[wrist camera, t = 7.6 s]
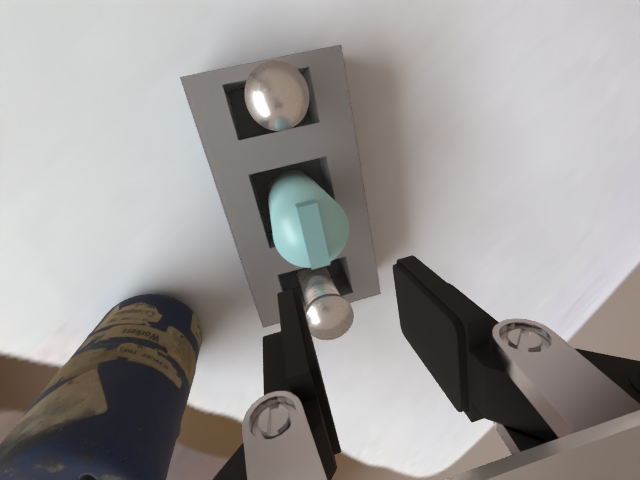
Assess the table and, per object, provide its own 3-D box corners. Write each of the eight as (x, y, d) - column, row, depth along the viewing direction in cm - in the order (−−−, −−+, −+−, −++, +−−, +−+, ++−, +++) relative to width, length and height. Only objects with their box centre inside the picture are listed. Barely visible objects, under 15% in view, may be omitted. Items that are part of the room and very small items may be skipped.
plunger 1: (243, 86, 26) (236, 67, 18) (288, 77, 26) (301, 54, 18) (255, 134, 27) (254, 137, 19) (298, 125, 27) (315, 123, 19)
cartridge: (261, 176, 30) (263, 209, 18) (310, 164, 30) (346, 188, 18) (274, 223, 31) (284, 283, 19) (321, 211, 32) (359, 262, 20)
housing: (191, 84, 26) (179, 77, 22) (329, 56, 27) (341, 44, 24) (262, 306, 34) (263, 327, 30) (367, 276, 35) (380, 293, 31)
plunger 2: (289, 260, 31) (300, 305, 23) (326, 250, 32) (349, 291, 24) (298, 292, 33) (311, 345, 25) (333, 283, 33) (357, 332, 25)
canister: (192, 280, 32) (119, 448, 15) (214, 355, 35) (174, 562, 18) (90, 298, 30) (-114, 505, 14) (123, 375, 34) (-9, 616, 17)
